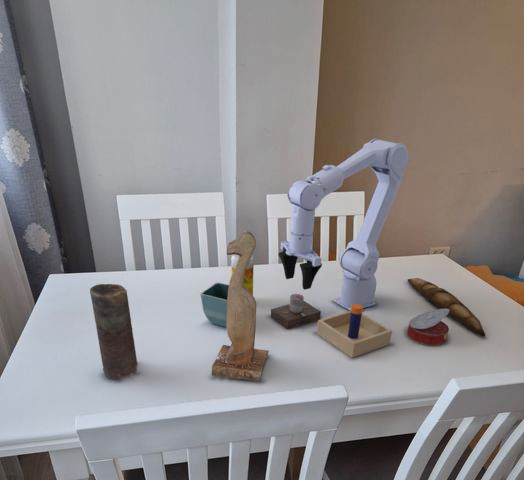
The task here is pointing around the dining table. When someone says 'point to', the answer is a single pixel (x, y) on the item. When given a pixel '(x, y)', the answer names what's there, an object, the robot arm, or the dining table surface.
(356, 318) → the marker
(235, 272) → the bird sculpture
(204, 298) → the flower pot
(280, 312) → the block
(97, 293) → the candle
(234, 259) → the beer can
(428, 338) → the canned food
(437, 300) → the bread
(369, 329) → the open wooden box
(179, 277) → the dining table surface
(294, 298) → the grey dial knob
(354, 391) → the dining table surface
